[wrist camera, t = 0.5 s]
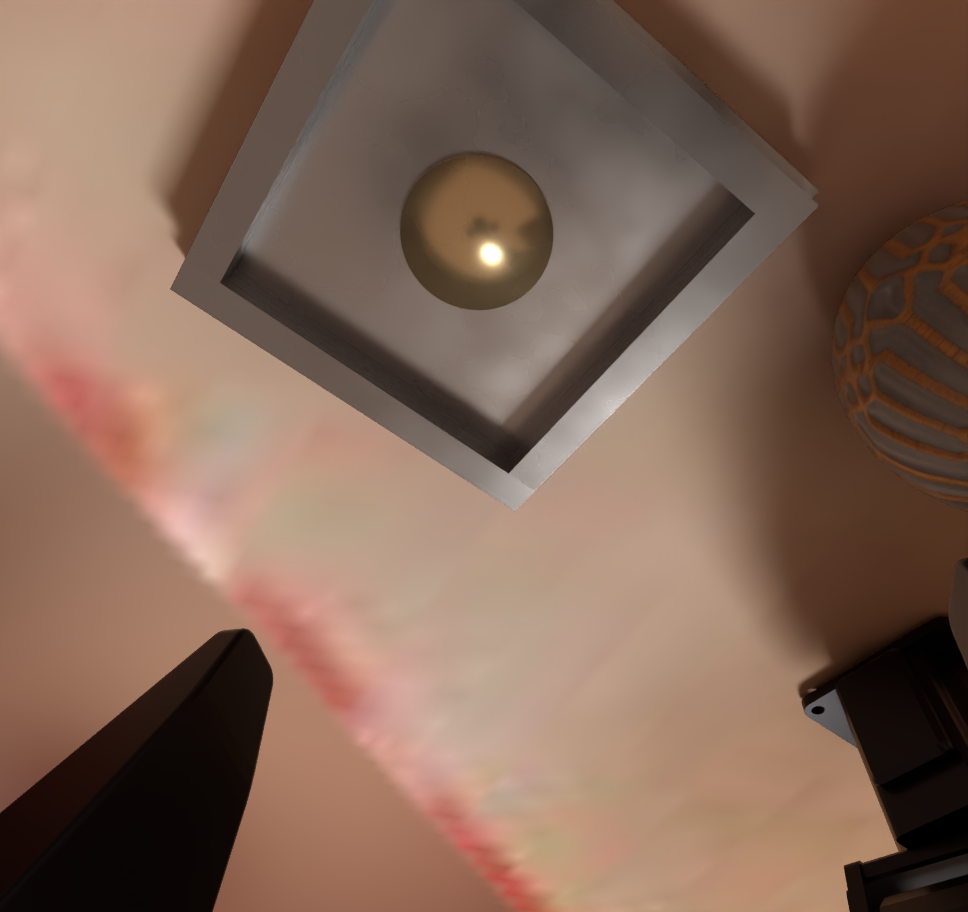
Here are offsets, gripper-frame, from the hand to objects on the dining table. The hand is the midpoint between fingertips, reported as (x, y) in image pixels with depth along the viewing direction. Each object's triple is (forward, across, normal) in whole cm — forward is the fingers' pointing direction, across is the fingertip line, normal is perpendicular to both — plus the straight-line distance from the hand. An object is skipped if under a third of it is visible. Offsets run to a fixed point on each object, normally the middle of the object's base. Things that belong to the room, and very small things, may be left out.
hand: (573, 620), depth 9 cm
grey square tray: (+13, +2, -2) cm, 13 cm away
